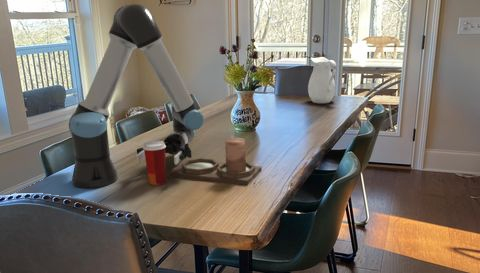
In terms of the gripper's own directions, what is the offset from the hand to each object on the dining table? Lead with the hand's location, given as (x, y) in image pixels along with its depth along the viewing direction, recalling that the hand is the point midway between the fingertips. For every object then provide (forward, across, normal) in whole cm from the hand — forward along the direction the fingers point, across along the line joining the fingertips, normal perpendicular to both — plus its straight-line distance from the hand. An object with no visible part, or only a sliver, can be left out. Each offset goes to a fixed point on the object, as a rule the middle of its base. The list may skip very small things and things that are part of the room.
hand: (156, 160), depth 151 cm
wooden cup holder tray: (-12, -18, -8) cm, 23 cm away
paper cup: (-1, 0, -8) cm, 9 cm away
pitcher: (-146, -57, -8) cm, 157 cm away
